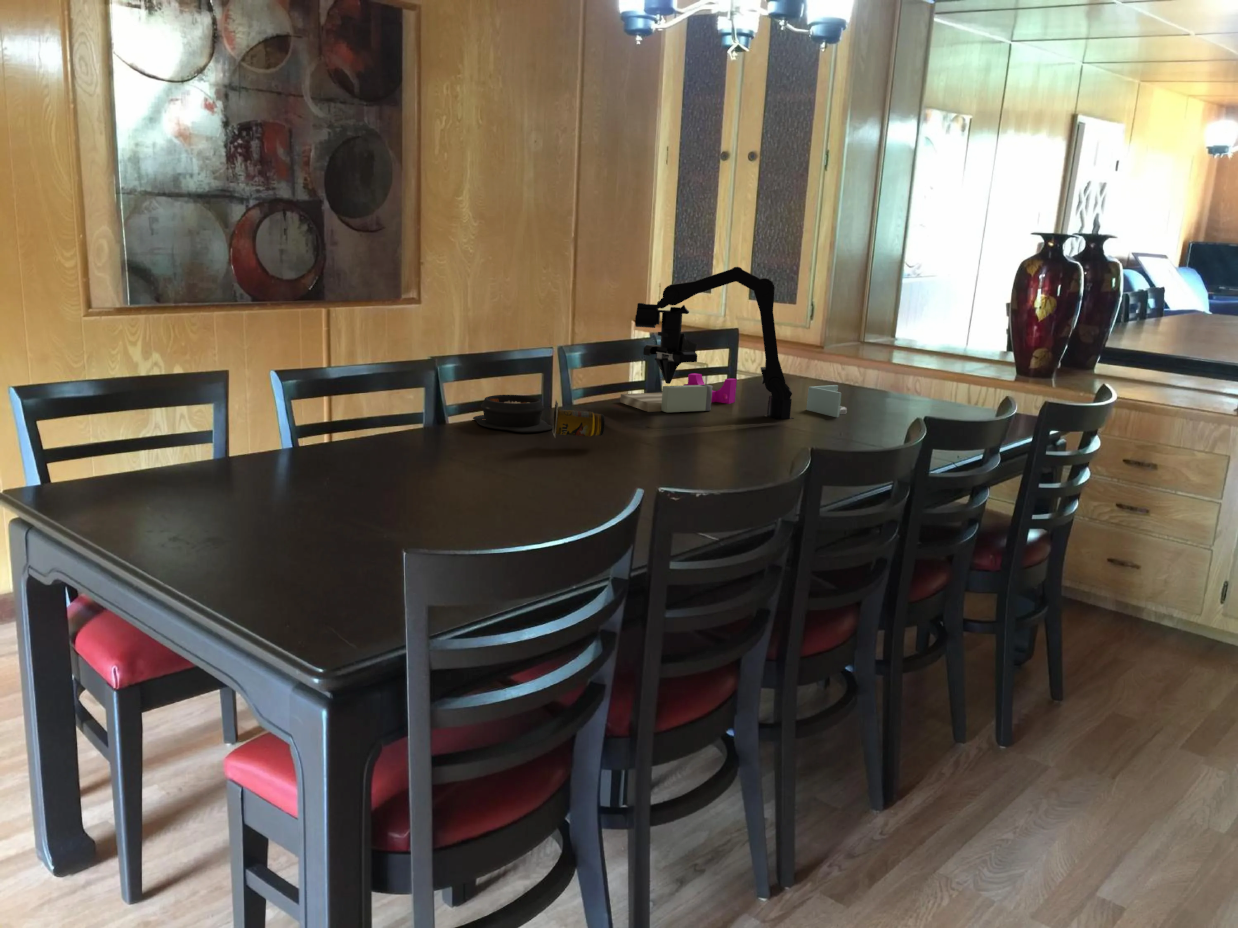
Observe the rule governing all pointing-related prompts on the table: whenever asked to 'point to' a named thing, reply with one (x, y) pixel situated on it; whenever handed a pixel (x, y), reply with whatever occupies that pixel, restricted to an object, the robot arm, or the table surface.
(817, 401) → the right angle wall
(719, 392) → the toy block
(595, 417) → the yellow can
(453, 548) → the table surface
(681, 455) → the table surface
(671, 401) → the pale grey rectangular block
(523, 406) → the casserole
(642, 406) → the stool seat
